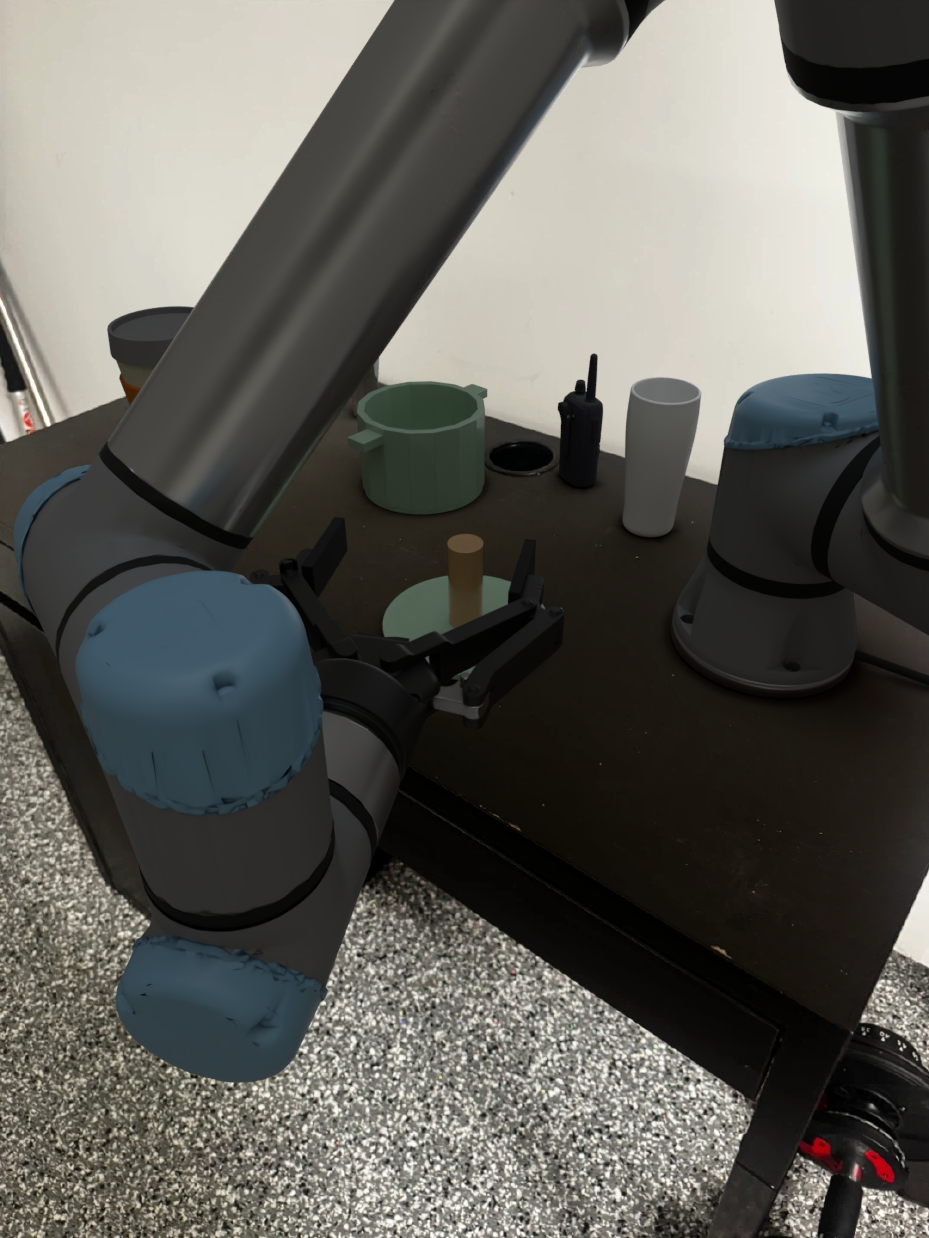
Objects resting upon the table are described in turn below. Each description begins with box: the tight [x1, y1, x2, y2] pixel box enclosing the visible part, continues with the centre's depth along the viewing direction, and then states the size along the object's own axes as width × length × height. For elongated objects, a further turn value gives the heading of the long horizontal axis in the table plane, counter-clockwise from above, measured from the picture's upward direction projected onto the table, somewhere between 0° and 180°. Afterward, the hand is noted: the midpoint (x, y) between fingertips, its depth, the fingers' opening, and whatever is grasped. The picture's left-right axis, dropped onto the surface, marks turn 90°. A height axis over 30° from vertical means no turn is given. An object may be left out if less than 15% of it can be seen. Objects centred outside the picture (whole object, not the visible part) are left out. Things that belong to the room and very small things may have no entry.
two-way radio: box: [557, 353, 604, 488], centre depth 97 cm, size 6×4×15 cm
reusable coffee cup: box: [106, 305, 195, 406], centre depth 105 cm, size 13×13×15 cm
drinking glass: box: [621, 376, 702, 538], centre depth 88 cm, size 7×7×15 cm
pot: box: [347, 380, 488, 515], centre depth 98 cm, size 14×19×10 cm
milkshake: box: [350, 357, 380, 418], centre depth 113 cm, size 4×5×10 cm
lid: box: [381, 533, 546, 681], centre depth 76 cm, size 15×15×9 cm
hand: (433, 544), depth 62 cm, fingers open, 13 cm apart
